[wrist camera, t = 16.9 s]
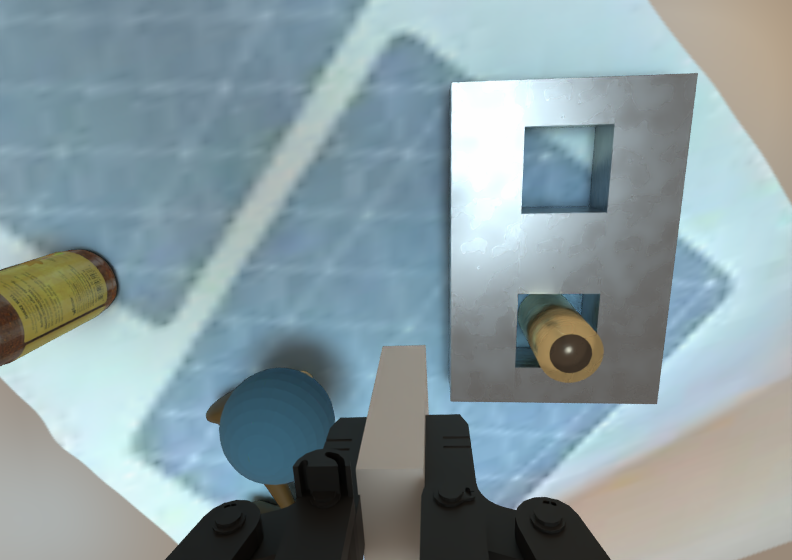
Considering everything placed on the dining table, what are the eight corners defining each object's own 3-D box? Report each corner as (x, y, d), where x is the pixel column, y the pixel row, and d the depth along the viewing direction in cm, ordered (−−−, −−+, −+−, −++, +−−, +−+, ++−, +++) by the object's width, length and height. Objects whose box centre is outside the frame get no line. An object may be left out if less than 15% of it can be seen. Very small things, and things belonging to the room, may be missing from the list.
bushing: (518, 289, 40) (539, 323, 33) (573, 289, 40) (607, 324, 32) (516, 339, 42) (536, 383, 34) (569, 339, 41) (601, 384, 33)
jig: (449, 89, 37) (451, 82, 33) (668, 81, 36) (697, 73, 32) (448, 378, 43) (450, 401, 39) (636, 380, 42) (656, 404, 38)
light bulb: (367, 362, 43) (343, 440, 32) (325, 433, 45) (288, 531, 34) (283, 317, 43) (227, 379, 31) (245, 391, 45) (179, 475, 33)
